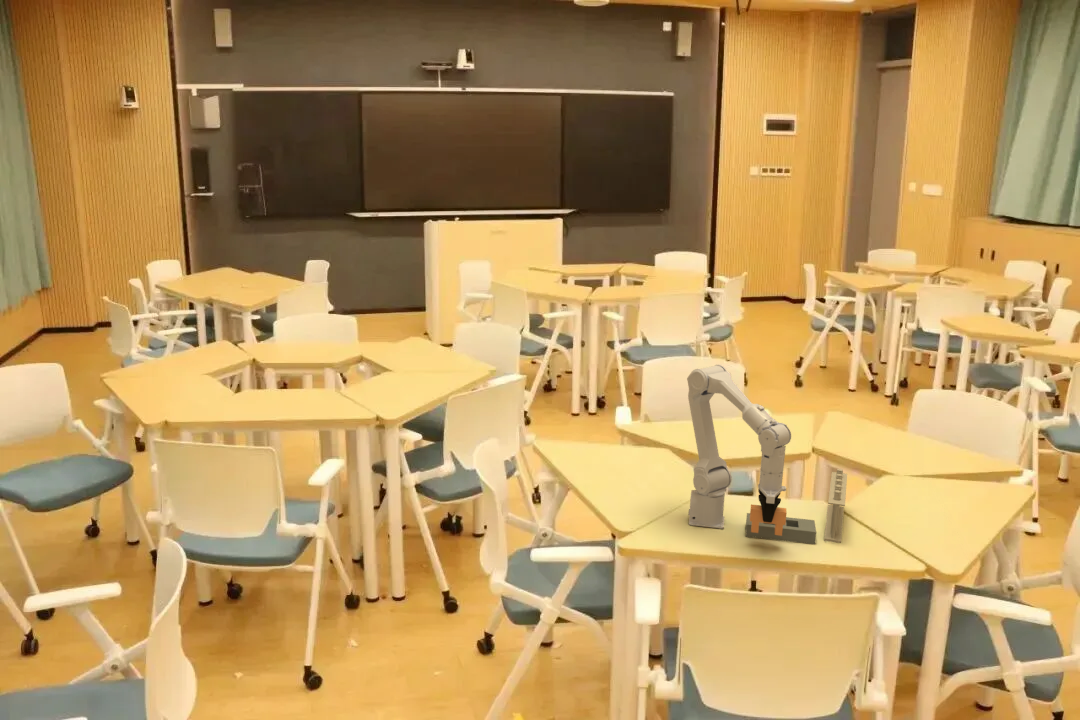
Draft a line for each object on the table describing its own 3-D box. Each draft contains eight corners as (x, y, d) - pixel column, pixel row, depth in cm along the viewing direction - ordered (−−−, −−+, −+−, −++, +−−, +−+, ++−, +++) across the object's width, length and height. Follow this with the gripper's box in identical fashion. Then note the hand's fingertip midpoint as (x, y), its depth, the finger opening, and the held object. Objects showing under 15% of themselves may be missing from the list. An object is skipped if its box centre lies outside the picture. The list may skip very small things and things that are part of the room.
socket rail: (745, 536, 246) (746, 524, 245) (745, 524, 253) (746, 512, 253) (815, 544, 242) (816, 532, 241) (813, 532, 250) (814, 520, 249)
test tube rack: (841, 543, 243) (846, 497, 240) (823, 540, 245) (828, 494, 241) (843, 509, 266) (848, 466, 263) (827, 507, 268) (832, 464, 264)
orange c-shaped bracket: (748, 531, 239) (750, 508, 237) (748, 527, 241) (750, 504, 240) (784, 536, 237) (786, 512, 235) (783, 531, 240) (786, 508, 238)
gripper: (788, 481, 227) (783, 532, 231) (786, 462, 241) (782, 509, 244) (759, 478, 229) (755, 528, 232) (759, 459, 243) (755, 507, 246)
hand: (767, 519), depth 238 cm, fingers closed on orange c-shaped bracket, 3 cm apart
